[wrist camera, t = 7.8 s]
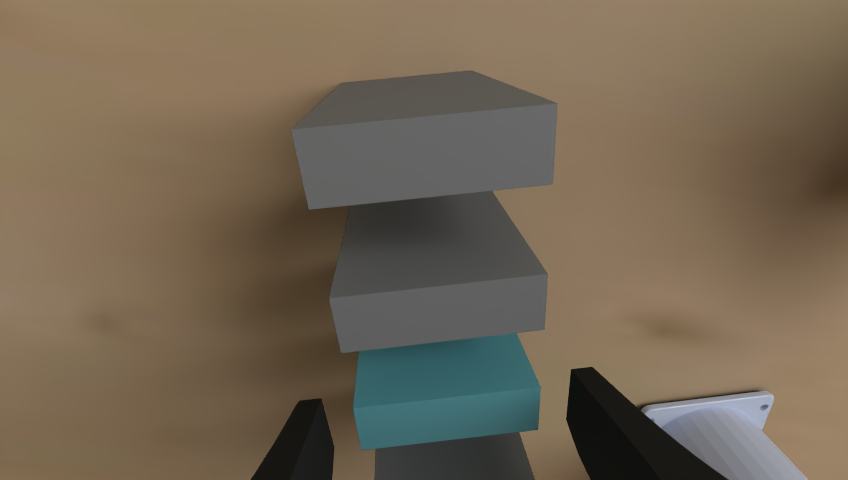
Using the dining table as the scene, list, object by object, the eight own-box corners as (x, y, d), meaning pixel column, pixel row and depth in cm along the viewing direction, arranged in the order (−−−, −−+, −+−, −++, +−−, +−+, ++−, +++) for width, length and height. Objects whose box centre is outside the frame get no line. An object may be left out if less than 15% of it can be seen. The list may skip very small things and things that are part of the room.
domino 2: (475, 200, 18) (544, 329, 10) (362, 212, 18) (340, 353, 10) (474, 165, 17) (547, 274, 9) (356, 177, 17) (328, 298, 9)
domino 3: (479, 335, 22) (533, 512, 13) (384, 346, 21) (380, 531, 13) (478, 310, 21) (535, 481, 13) (380, 321, 21) (373, 501, 13)
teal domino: (477, 273, 20) (538, 429, 12) (373, 283, 20) (361, 450, 11) (476, 243, 19) (540, 386, 11) (368, 253, 19) (352, 408, 11)
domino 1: (473, 113, 17) (552, 184, 8) (348, 125, 16) (309, 209, 8) (471, 70, 16) (557, 102, 8) (341, 82, 16) (291, 129, 8)
